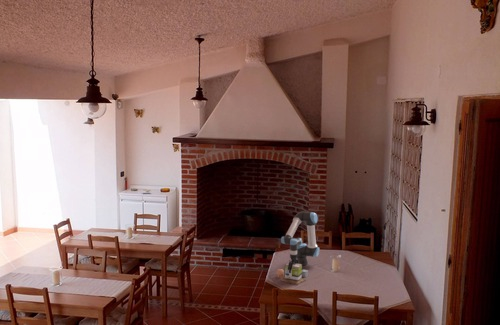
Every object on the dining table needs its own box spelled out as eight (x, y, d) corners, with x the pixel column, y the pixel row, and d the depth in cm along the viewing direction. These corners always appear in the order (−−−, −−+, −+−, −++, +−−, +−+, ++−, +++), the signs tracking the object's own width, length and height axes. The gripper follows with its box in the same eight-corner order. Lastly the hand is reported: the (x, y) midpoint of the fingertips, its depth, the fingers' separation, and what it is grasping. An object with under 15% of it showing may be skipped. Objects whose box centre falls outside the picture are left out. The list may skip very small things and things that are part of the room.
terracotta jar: (279, 275, 483) (279, 268, 482) (285, 277, 478) (285, 269, 477) (275, 277, 477) (275, 270, 476) (281, 279, 473) (281, 271, 472)
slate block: (303, 274, 485) (303, 269, 484) (308, 275, 481) (308, 270, 481) (300, 276, 481) (300, 270, 480) (305, 277, 477) (305, 272, 476)
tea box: (284, 278, 467) (284, 264, 466) (288, 275, 476) (288, 261, 474) (298, 280, 460) (298, 266, 459) (301, 277, 469) (302, 263, 467)
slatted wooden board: (289, 276, 481) (289, 274, 481) (305, 280, 468) (305, 279, 468) (281, 280, 469) (281, 279, 469) (297, 285, 456) (297, 283, 456)
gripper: (296, 250, 476) (296, 270, 479) (284, 256, 459) (284, 276, 461) (302, 251, 472) (302, 271, 474) (290, 257, 454) (290, 278, 456)
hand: (293, 274), depth 468 cm, fingers closed on tea box, 11 cm apart
